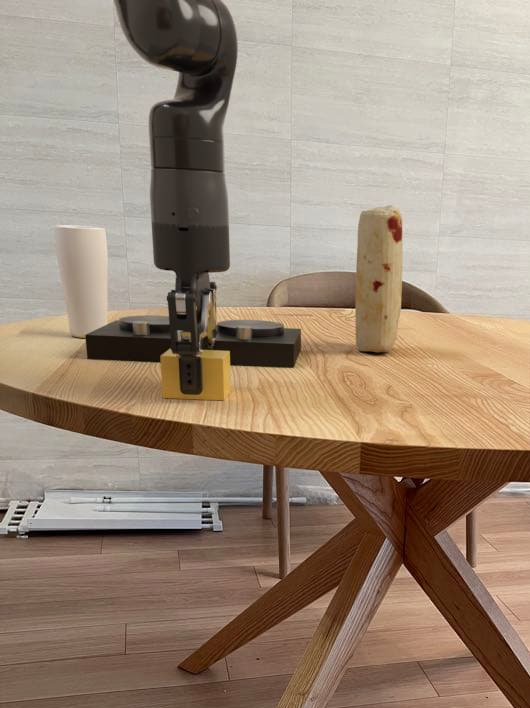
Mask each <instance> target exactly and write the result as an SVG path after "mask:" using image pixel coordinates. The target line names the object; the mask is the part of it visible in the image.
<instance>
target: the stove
mask: <svg viewBox="0 0 530 708" xmlns="http://www.w3.org/2000/svg"><path fill="white" fill-rule="evenodd" d="M216 325H217V335H216V338H215V343H214V346H210V347H212V348H213V350H218V351H230V366H244V367H245V366H249V367H271V368H272V367H273V368H292V369H293V368H295V367H296V364H297V360H298V358H299V356H300V353H301V351H302V329H301V328H293V327H291V328H289V327H285V324H283V323H281V322H277V321H271V320H262V319H228V320H227V319H226V320H221V321H217V322H216ZM84 339H85V348H86V349H85V350H86V359H87V360H105V361H106V360H108V361H128V362H129V361H131V362H151V363H152V362H153V363H154V362H155V363H161V358H160V356H161V355H162V354H164V353H165V352H166V351H168V350H169V349H170V348H171V336H170V324H169V315H153V314H152V315H151V314H150V315H146V314H145V315H129V316H128V315H127V316H123V317H120V318H118V320H113V321H111V322H108V324H107V325H105V326H103V327H101V328H99V329H96V330H94V331H92V332H90V333H88V334H86V335H85V338H84ZM183 342H190V341H189V336H185V337H184V338H183Z"/></svg>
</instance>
